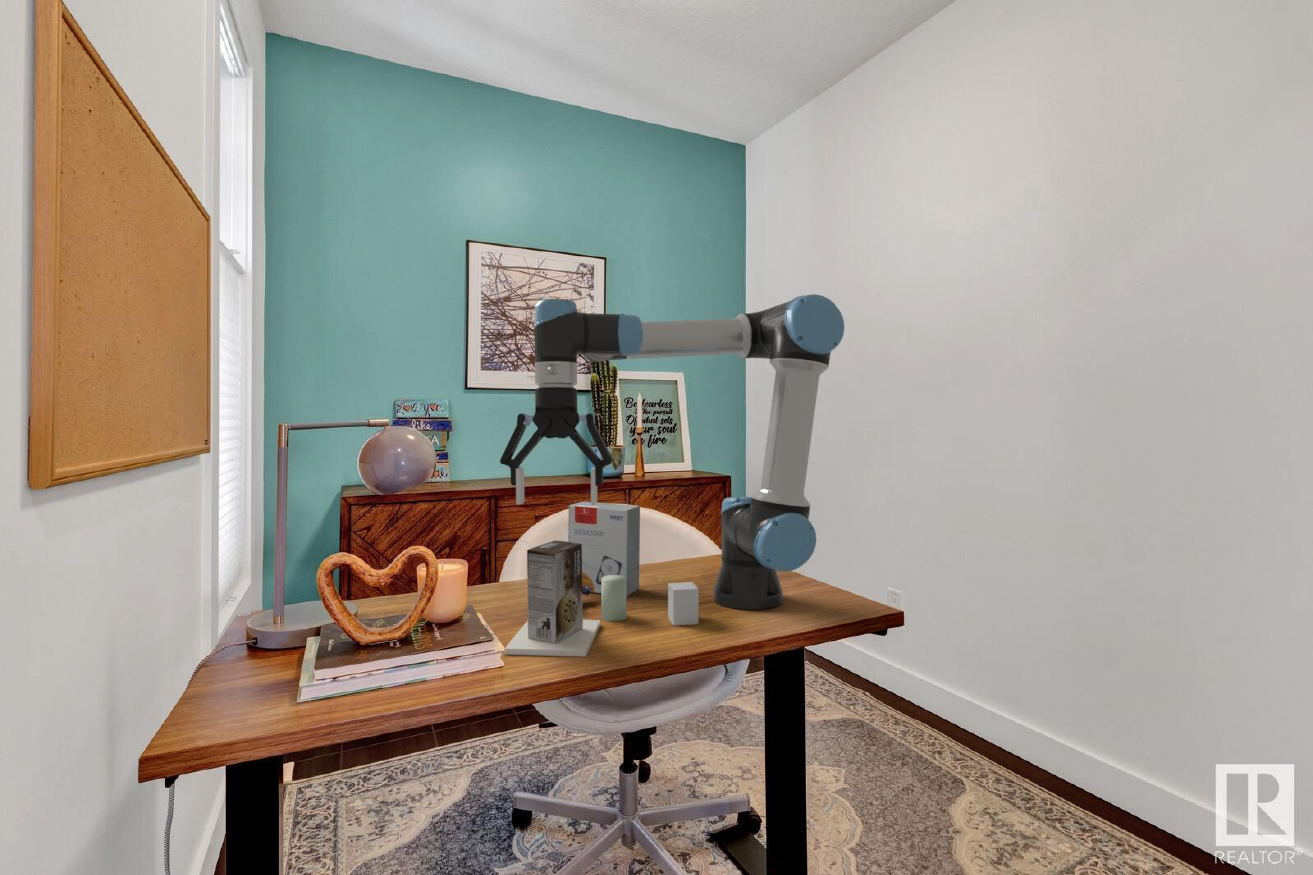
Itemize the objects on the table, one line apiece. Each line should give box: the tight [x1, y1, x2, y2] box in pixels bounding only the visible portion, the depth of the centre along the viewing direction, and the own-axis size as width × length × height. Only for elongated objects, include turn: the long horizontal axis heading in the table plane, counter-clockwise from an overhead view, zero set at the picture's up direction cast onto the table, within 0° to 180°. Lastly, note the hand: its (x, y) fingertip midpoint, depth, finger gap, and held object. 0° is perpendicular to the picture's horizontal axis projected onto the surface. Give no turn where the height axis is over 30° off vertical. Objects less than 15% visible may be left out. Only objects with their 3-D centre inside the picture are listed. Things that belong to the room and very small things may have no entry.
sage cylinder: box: [600, 575, 627, 622], centre depth 127 cm, size 5×5×8 cm
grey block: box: [667, 581, 699, 626], centre depth 126 cm, size 5×5×7 cm
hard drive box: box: [567, 501, 641, 598], centre depth 147 cm, size 16×8×20 cm, turn 67°
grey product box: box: [526, 540, 584, 643], centre depth 115 cm, size 9×6×16 cm
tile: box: [504, 619, 601, 658], centre depth 115 cm, size 14×16×1 cm
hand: (557, 503), depth 115 cm, fingers open, 13 cm apart
